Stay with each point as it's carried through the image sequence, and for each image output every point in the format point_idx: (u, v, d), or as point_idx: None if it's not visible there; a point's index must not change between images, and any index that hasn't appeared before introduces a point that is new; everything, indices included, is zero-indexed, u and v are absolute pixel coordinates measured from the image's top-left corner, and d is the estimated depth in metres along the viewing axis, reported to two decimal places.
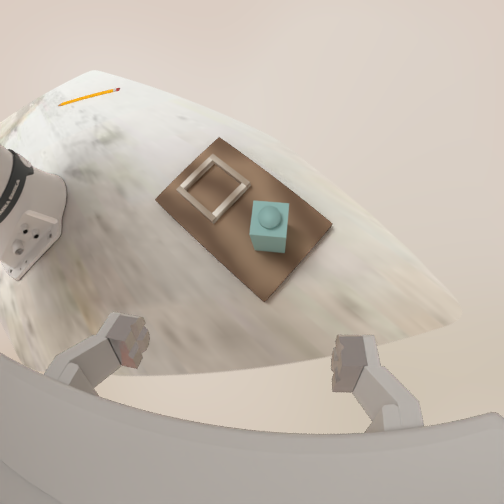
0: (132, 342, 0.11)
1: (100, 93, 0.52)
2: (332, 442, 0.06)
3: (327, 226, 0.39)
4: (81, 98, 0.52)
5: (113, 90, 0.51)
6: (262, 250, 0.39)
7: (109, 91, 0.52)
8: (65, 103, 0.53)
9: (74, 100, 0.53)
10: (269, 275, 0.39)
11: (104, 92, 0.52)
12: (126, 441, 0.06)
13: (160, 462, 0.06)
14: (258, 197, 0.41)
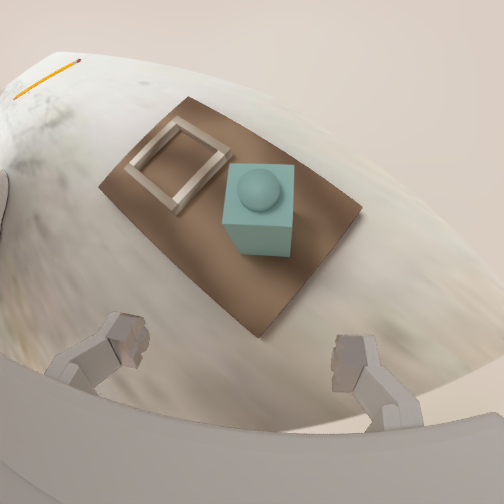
0: (132, 342, 0.11)
1: (59, 70, 0.38)
2: (332, 441, 0.06)
3: (355, 211, 0.24)
4: (38, 82, 0.38)
5: (73, 63, 0.37)
6: (252, 254, 0.24)
7: (69, 65, 0.37)
8: (20, 94, 0.38)
9: (30, 87, 0.38)
10: (265, 295, 0.23)
11: (63, 68, 0.38)
12: (126, 441, 0.06)
13: (160, 462, 0.06)
14: None
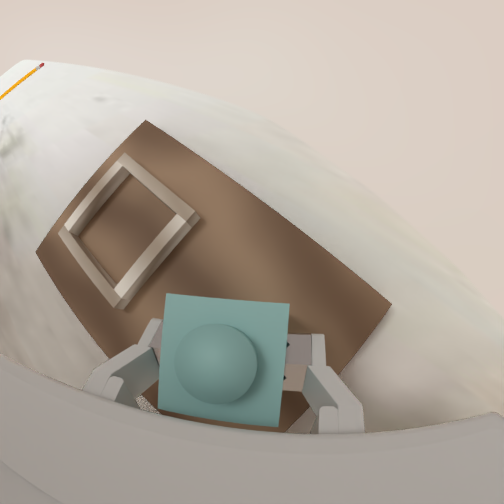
0: None
1: (20, 80, 0.29)
2: (332, 442, 0.06)
3: (381, 312, 0.16)
4: None
5: (36, 68, 0.29)
6: None
7: (31, 72, 0.29)
8: None
9: None
10: None
11: (25, 76, 0.29)
12: (126, 441, 0.06)
13: (160, 462, 0.06)
14: (217, 246, 0.18)
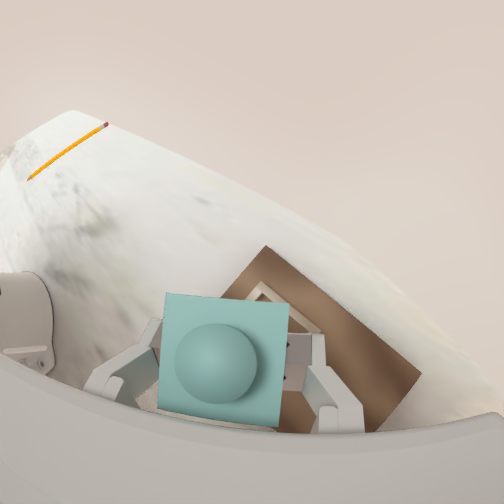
0: None
1: (82, 139, 0.40)
2: (332, 442, 0.06)
3: (416, 378, 0.25)
4: (57, 156, 0.40)
5: (100, 127, 0.40)
6: None
7: (95, 131, 0.40)
8: (36, 172, 0.40)
9: (48, 163, 0.40)
10: None
11: (88, 135, 0.40)
12: (126, 441, 0.06)
13: (161, 462, 0.06)
14: (331, 348, 0.27)
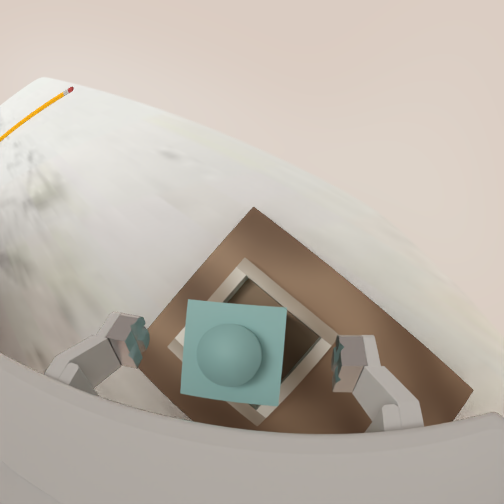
0: (132, 342, 0.11)
1: (44, 105, 0.29)
2: (332, 442, 0.06)
3: (466, 397, 0.15)
4: (18, 124, 0.29)
5: (64, 93, 0.29)
6: None
7: (58, 97, 0.29)
8: None
9: (9, 131, 0.30)
10: None
11: (50, 101, 0.29)
12: (126, 441, 0.06)
13: (160, 462, 0.06)
14: None
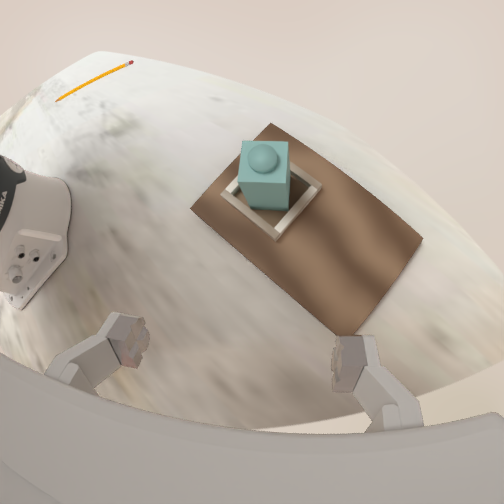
0: (132, 342, 0.11)
1: (109, 72, 0.42)
2: (332, 442, 0.06)
3: (418, 242, 0.28)
4: (84, 84, 0.42)
5: (125, 64, 0.41)
6: (260, 208, 0.31)
7: (120, 67, 0.41)
8: (64, 96, 0.43)
9: (75, 89, 0.43)
10: (352, 309, 0.28)
11: (114, 69, 0.41)
12: (126, 441, 0.06)
13: (160, 462, 0.06)
14: (332, 204, 0.30)
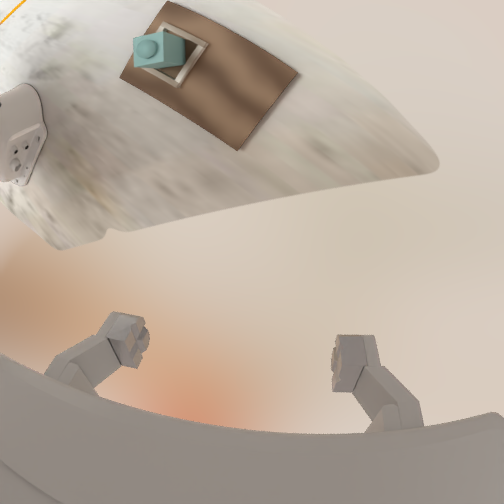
0: (132, 342, 0.11)
1: None
2: (332, 441, 0.06)
3: (292, 75, 0.33)
4: (18, 5, 0.26)
5: None
6: (165, 67, 0.34)
7: None
8: (5, 19, 0.27)
9: (12, 11, 0.27)
10: (238, 127, 0.38)
11: None
12: (126, 441, 0.06)
13: (160, 462, 0.06)
14: (218, 54, 0.33)
